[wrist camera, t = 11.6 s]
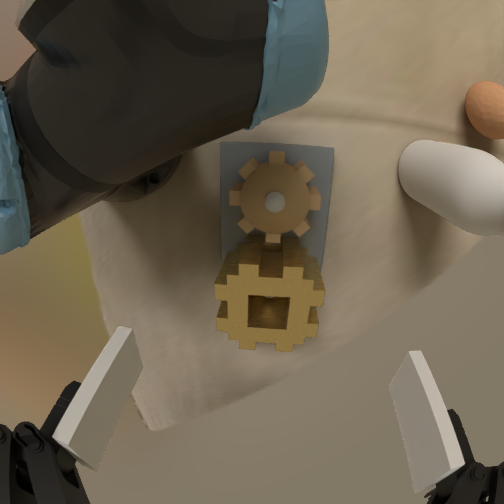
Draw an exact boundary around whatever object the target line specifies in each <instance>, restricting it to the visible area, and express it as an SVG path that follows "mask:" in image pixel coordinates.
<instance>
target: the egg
mask: <svg viewBox="0 0 504 504" xmlns="http://www.w3.org/2000/svg"><path fill="white" fill-rule="evenodd" d="M465 109H466V113H467V116H468V118H469V120H470V122H471V124H472V125H473V126H474V128H475V129H476V130H477V131H478V132H480V133H481V134H482V135H484V136H485V137H488V138H491V139H504V88H503V87H502V86H500V85H498V84H496V83H494V82H489V81H481V82H478V83H476V84H474V85H472V86H471V87H470V88H469V90H468V92H467V94H466V99H465Z"/></svg>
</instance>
